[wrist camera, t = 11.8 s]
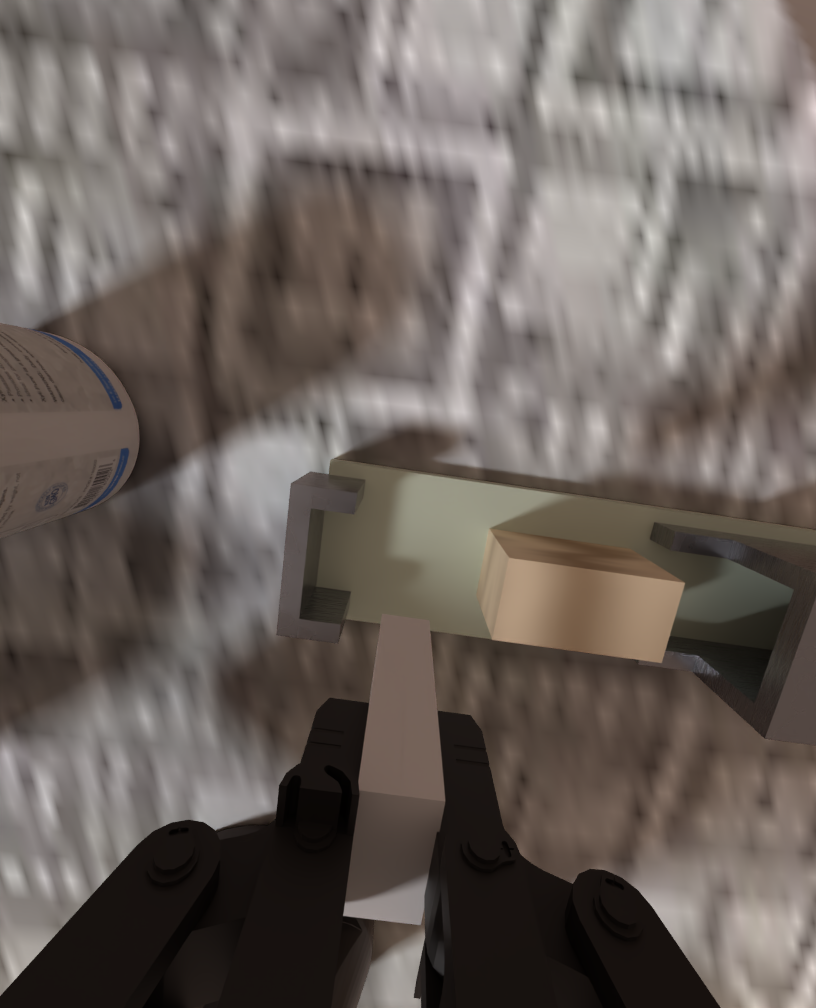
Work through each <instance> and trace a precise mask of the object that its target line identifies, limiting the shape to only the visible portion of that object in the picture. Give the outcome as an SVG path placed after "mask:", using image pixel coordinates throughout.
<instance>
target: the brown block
mask: <svg viewBox="0 0 816 1008" xmlns="http://www.w3.org/2000/svg"><path fill="white" fill-rule="evenodd" d="M684 585H685V582H683V581H681V580H680V579H678V578H677V577H675V576H673V575H672V574H670V573H669V572H667V571H665V570H664V569H662V568H661V567H659V566H657V565H656V564H654V563H652V562H651V561H649V560H648V559H646V558H644V557H643V556H641V555H640V554H638V553H636V552H635V551H633V550H632V549H629V548H622V547H615V546H608V545H601V544H594V543H587V542H580V541H573V540H566V539H560V538H553V537H546V536H539V535H532V534H525V533H518V532H511V531H504V530H497V529H490V528H489V531H488V536H487V541H486V546H485V552H484V557H483V562H482V567H481V573H480V578H479V583H478V588H477V593H476V596H477V599H478V602H479V605H480V607H481V610H482V613H483V616H484V618H485V621H486V624H487V627H488V629H489V632H490V635H491V638H492V640H497V641H504V642H512V643H519V644H526V645H534V646H541V647H548V648H555V649H563V650H570V651H577V652H585V653H592V654H599V655H607V656H614V657H621V658H629V659H636V660H643V661H650V662H658V663H662V660H663V657H664V653H665V650H666V646H667V643H668V640H669V636H670V633H671V629H672V626H673V623H674V619H675V616H676V613H677V609H678V606H679V602H680V599H681V596H682V592H683V589H684Z"/></svg>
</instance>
